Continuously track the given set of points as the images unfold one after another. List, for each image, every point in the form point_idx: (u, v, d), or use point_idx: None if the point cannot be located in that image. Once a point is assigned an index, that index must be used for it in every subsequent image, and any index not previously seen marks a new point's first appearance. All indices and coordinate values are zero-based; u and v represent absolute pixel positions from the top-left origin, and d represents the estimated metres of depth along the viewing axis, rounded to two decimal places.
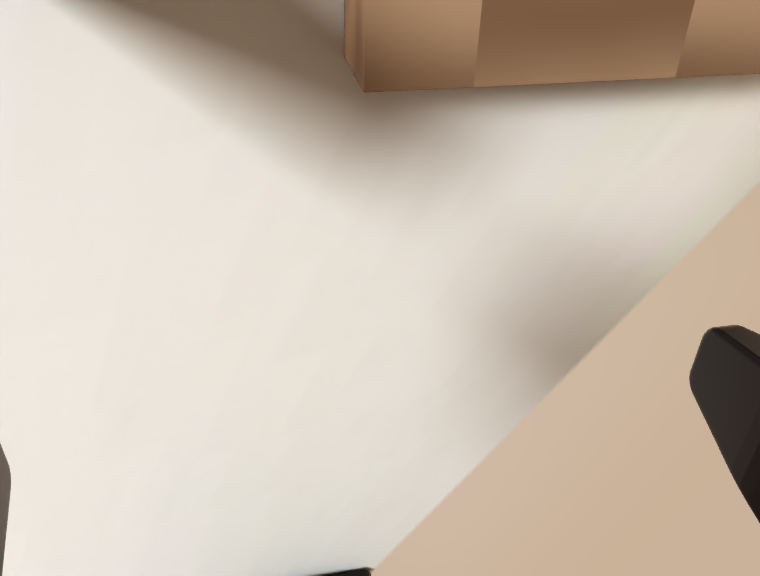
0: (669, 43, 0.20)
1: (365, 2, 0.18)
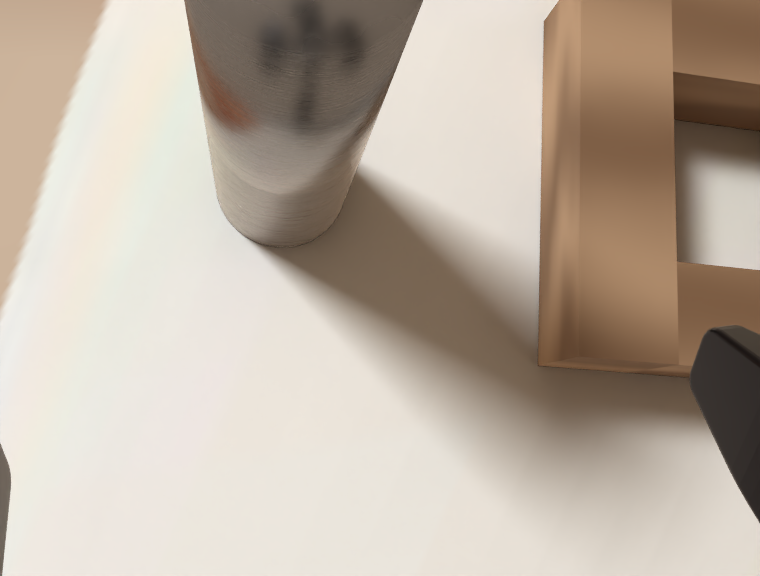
0: None
1: (579, 277, 0.21)
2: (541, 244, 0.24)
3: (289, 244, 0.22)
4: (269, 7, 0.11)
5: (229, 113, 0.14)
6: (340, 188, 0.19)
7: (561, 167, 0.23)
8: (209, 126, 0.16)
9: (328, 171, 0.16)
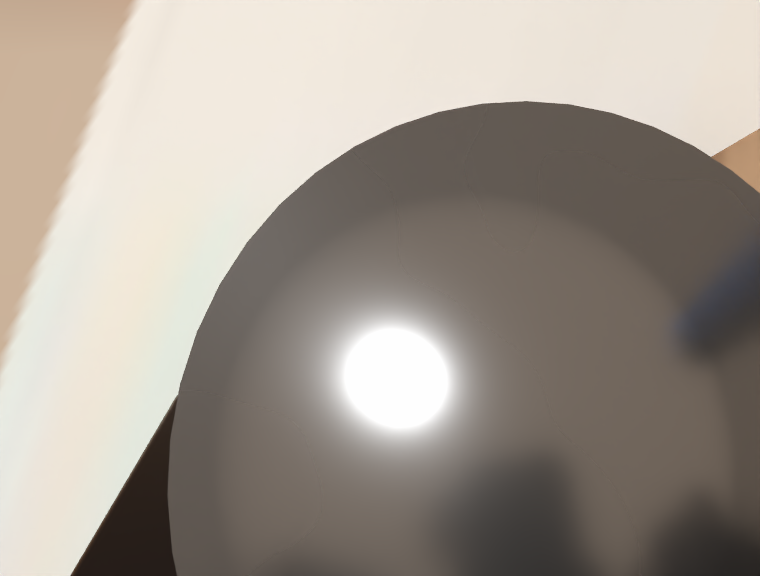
0: None
1: None
2: None
3: None
4: None
5: None
6: None
7: None
8: None
9: None
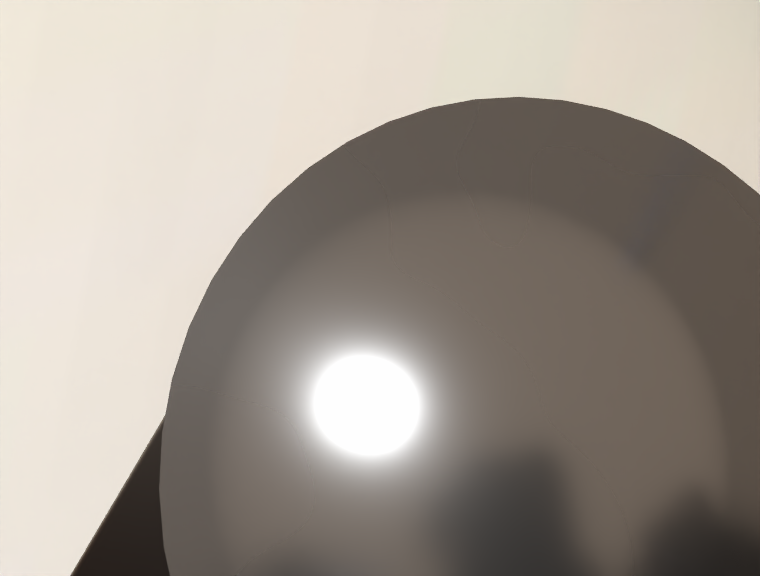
0: None
1: None
2: None
3: None
4: None
5: None
6: None
7: None
8: None
9: None
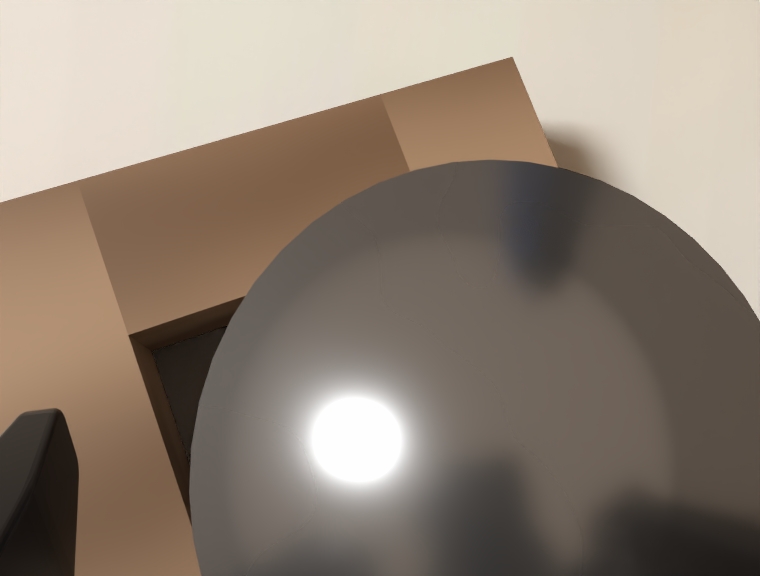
0: None
1: None
2: None
3: None
4: None
5: None
6: None
7: None
8: None
9: None
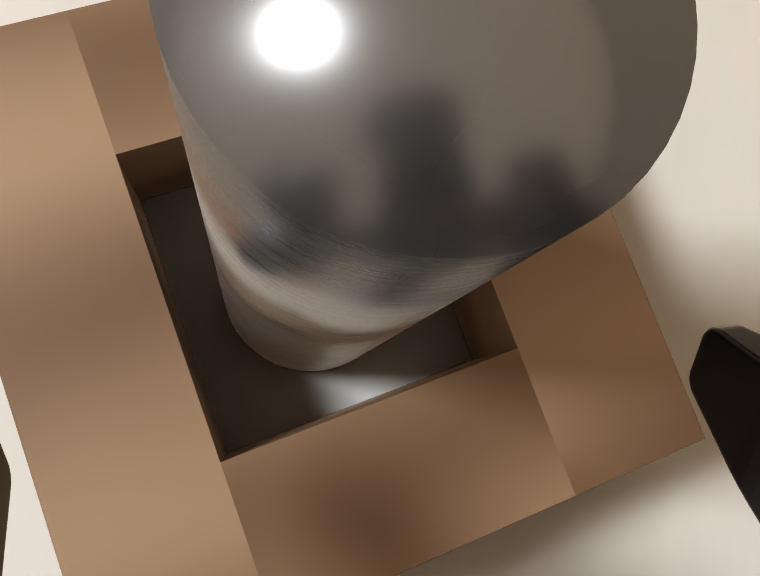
0: (536, 455, 0.14)
1: (62, 572, 0.12)
2: None
3: (322, 369, 0.16)
4: (358, 157, 0.05)
5: (254, 280, 0.08)
6: None
7: None
8: (217, 263, 0.10)
9: (403, 329, 0.10)
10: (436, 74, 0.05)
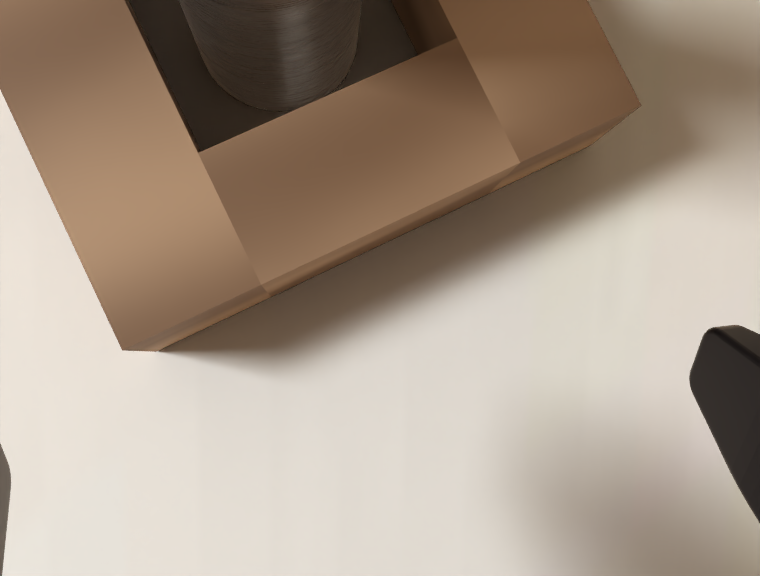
0: (481, 130, 0.15)
1: (75, 249, 0.14)
2: None
3: (295, 105, 0.18)
4: None
5: None
6: (342, 5, 0.14)
7: None
8: None
9: None
10: None
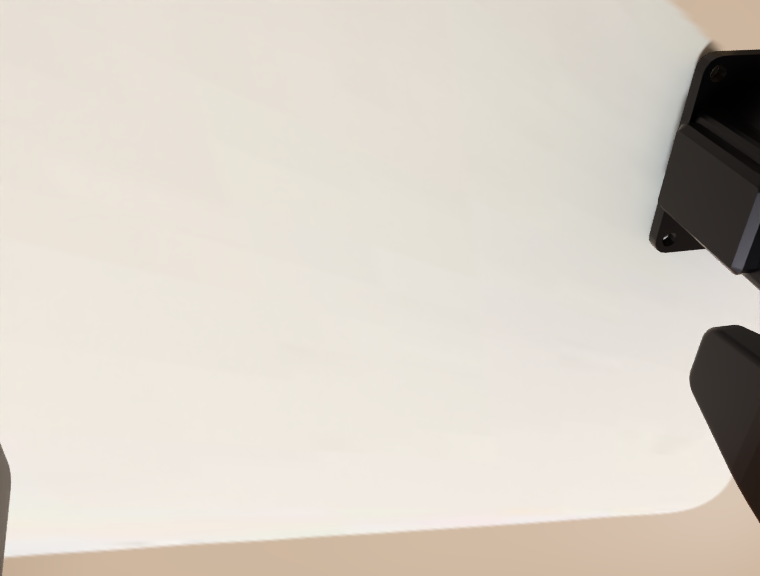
0: None
1: None
2: None
3: None
4: None
5: None
6: None
7: None
8: None
9: None
10: None
